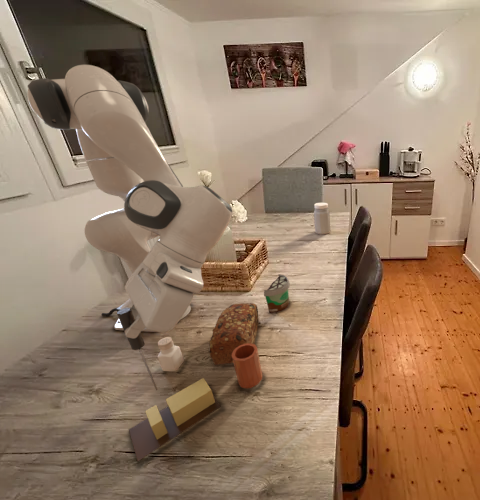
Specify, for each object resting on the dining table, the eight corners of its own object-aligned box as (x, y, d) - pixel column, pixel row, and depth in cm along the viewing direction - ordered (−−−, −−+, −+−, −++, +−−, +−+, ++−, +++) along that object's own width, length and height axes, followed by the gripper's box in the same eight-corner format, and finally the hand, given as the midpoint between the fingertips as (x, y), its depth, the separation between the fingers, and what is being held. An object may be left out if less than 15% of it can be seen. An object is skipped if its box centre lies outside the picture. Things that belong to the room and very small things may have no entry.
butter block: (207, 389, 68) (203, 377, 67) (215, 402, 65) (211, 390, 63) (170, 411, 63) (165, 399, 61) (177, 426, 60) (172, 413, 58)
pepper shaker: (172, 362, 78) (162, 335, 74) (186, 362, 78) (176, 335, 74) (162, 374, 74) (152, 346, 71) (177, 374, 74) (167, 346, 71)
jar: (317, 229, 180) (315, 201, 173) (332, 229, 178) (330, 202, 171) (313, 234, 171) (310, 205, 164) (328, 235, 169) (327, 206, 162)
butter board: (207, 387, 70) (206, 383, 70) (222, 410, 64) (221, 406, 64) (130, 433, 60) (128, 429, 59) (139, 465, 54) (137, 461, 54)
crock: (236, 392, 69) (228, 361, 65) (242, 373, 74) (235, 344, 70) (260, 390, 69) (254, 359, 65) (264, 371, 74) (259, 342, 70)
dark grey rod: (159, 380, 58) (129, 305, 51) (162, 387, 57) (131, 311, 49) (148, 386, 57) (115, 310, 50) (151, 393, 55) (117, 316, 48)
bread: (252, 364, 77) (246, 335, 73) (211, 369, 76) (202, 340, 72) (261, 322, 94) (256, 296, 90) (228, 325, 92) (222, 300, 89)
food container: (284, 317, 96) (280, 292, 92) (267, 315, 97) (263, 290, 93) (297, 297, 107) (294, 274, 103) (282, 296, 108) (279, 273, 104)
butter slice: (161, 417, 62) (156, 404, 60) (167, 432, 59) (162, 419, 57) (150, 423, 61) (145, 410, 59) (157, 439, 57) (151, 426, 56)
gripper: (142, 244, 58) (99, 304, 55) (172, 276, 44) (117, 357, 42) (172, 257, 62) (134, 313, 60) (207, 289, 49) (160, 363, 46)
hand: (127, 331), depth 51 cm, fingers closed on dark grey rod, 2 cm apart
